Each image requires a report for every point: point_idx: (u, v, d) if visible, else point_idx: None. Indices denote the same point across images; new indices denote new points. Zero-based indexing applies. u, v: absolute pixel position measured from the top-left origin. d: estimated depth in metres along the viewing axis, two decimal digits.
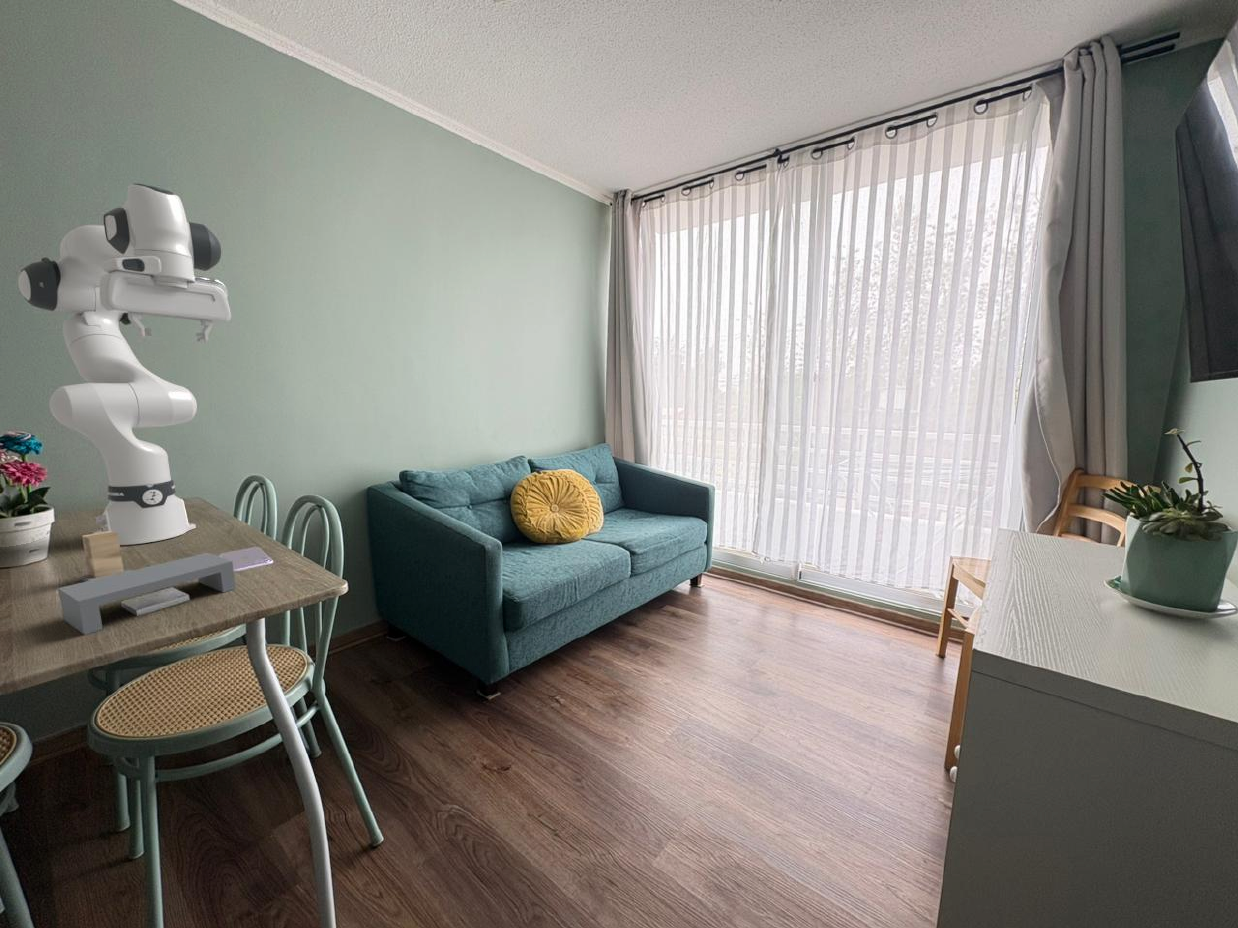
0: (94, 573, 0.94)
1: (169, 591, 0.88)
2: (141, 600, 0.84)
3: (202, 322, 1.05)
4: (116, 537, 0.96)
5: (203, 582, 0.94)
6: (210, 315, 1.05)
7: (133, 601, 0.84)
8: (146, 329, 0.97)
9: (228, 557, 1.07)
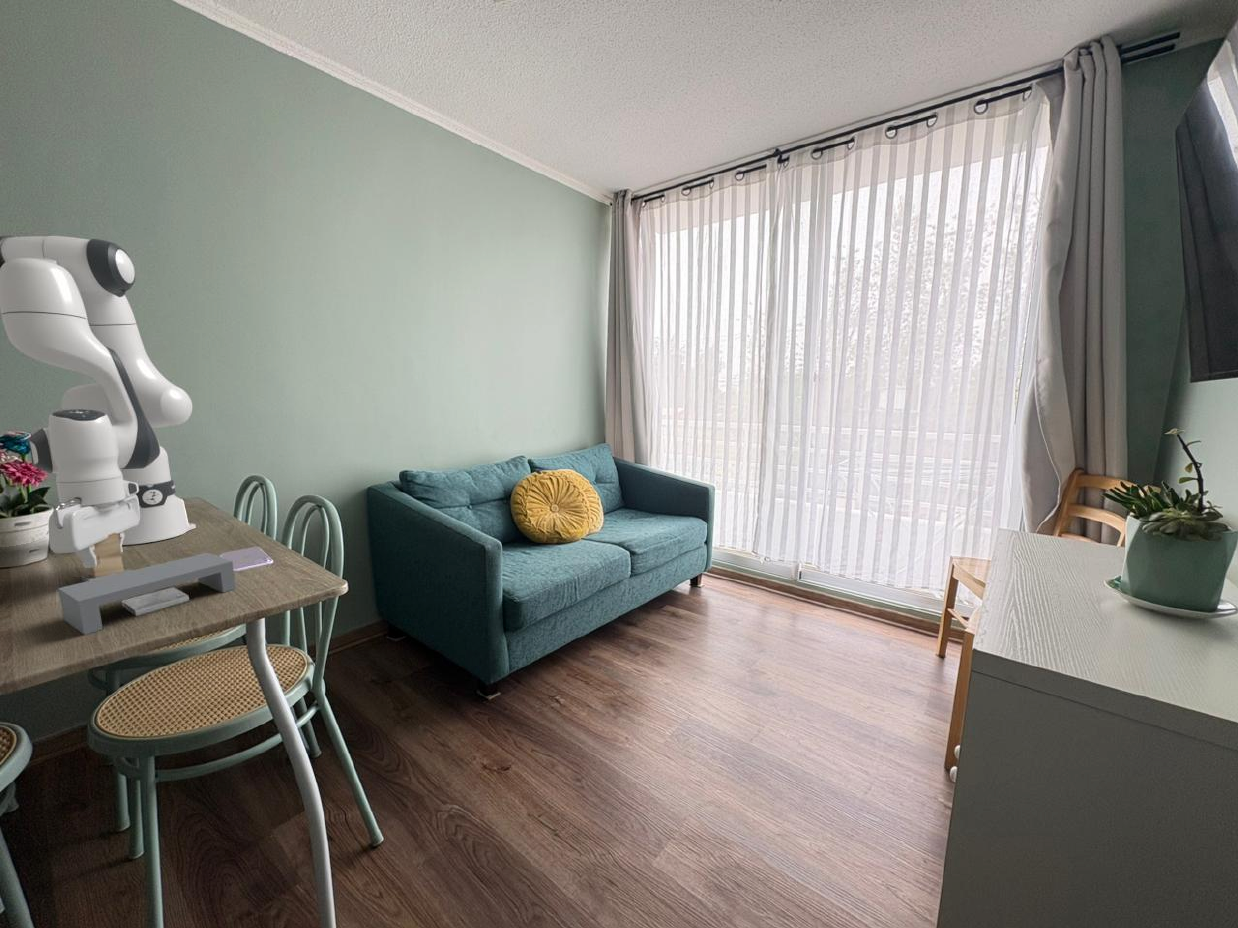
0: (94, 573, 0.94)
1: (170, 591, 0.88)
2: (141, 600, 0.84)
3: None
4: (116, 537, 0.96)
5: (203, 582, 0.94)
6: None
7: (133, 601, 0.84)
8: None
9: (228, 557, 1.08)
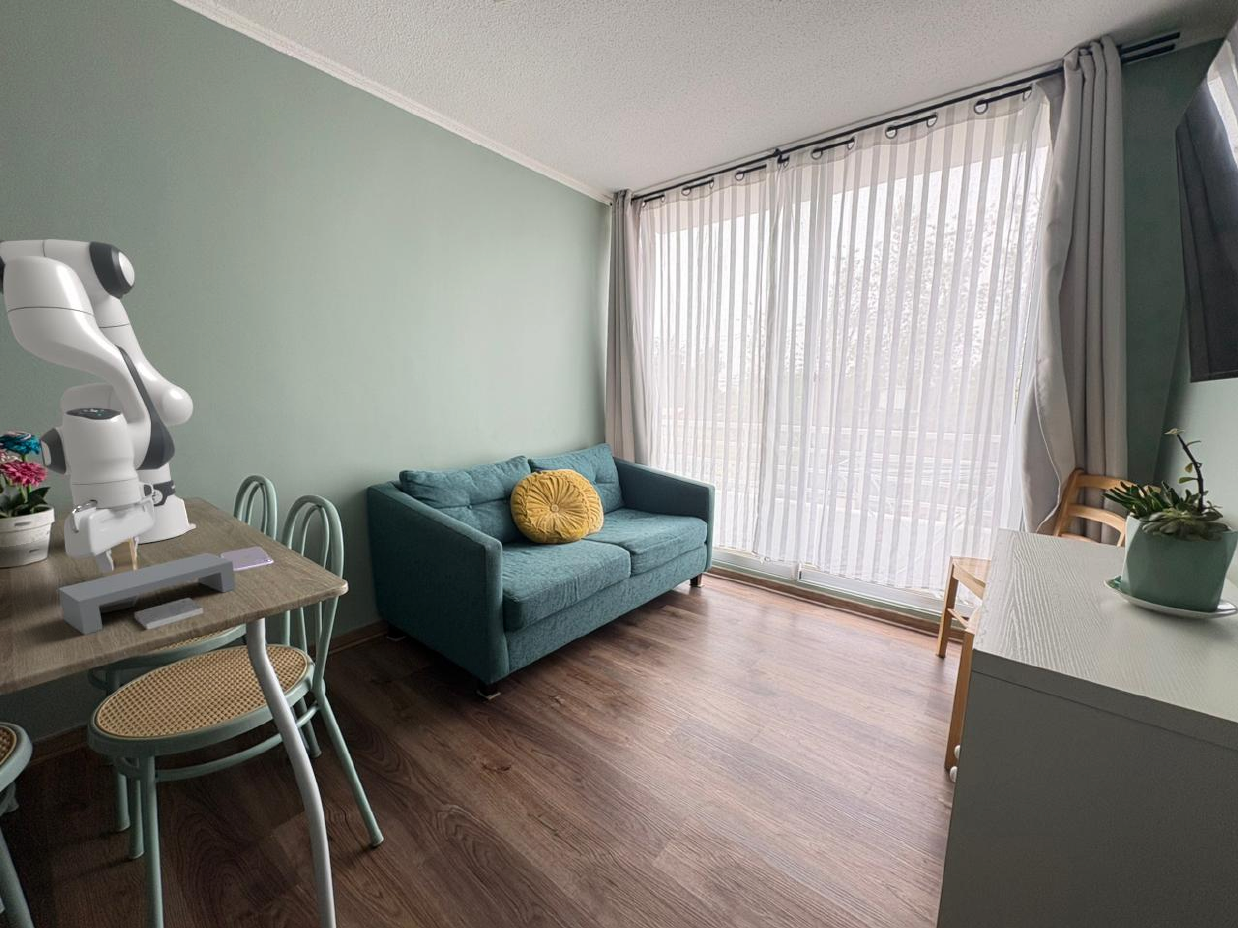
0: None
1: (184, 602, 0.84)
2: (154, 612, 0.80)
3: None
4: (127, 545, 0.91)
5: (203, 582, 0.94)
6: None
7: (145, 613, 0.80)
8: None
9: (229, 556, 1.08)
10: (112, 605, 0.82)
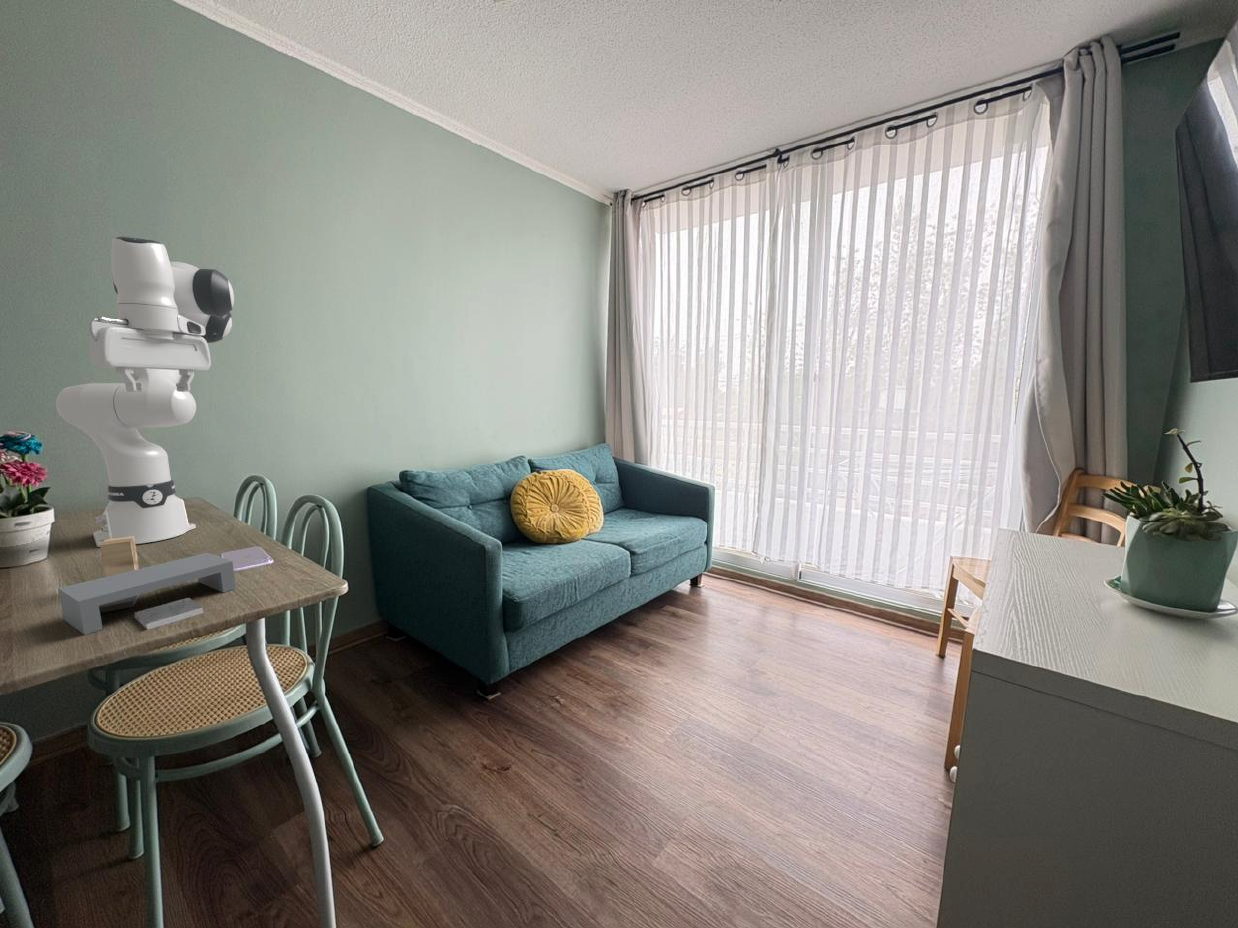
0: None
1: (184, 602, 0.84)
2: (154, 612, 0.80)
3: None
4: (128, 545, 0.92)
5: (203, 582, 0.94)
6: None
7: (145, 613, 0.80)
8: None
9: (229, 556, 1.08)
10: (111, 605, 0.83)
